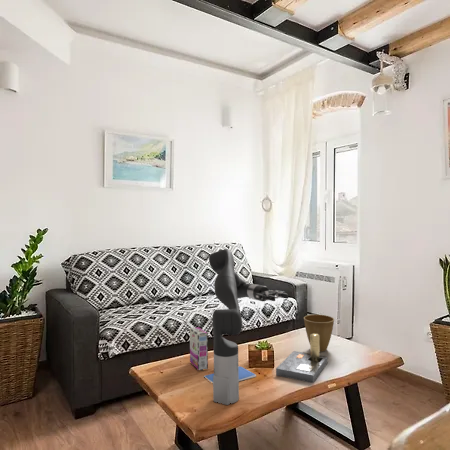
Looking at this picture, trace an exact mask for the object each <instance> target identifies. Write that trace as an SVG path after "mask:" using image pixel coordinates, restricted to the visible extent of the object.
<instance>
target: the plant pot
mask: <svg viewBox="0 0 450 450" xmlns="http://www.w3.org/2000/svg"><path fill="white" fill-rule="evenodd" d="M303 321H304V327H305V328H304V329H305V331H306V335H307V340H308V343H309V344H310V334H319V347H320V353H321V352H326V351H327V350H328V346H329V344H330V341H331V338H332V333H333V329H334V324H335V323H334V322H335V319H334V317H332V316H329V315H326V314H315V313H314V314H308V315H305V316H304V317H303Z"/></svg>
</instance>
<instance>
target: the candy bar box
mask: <svg viewBox="0 0 450 450" xmlns="http://www.w3.org/2000/svg"><path fill="white" fill-rule="evenodd" d="M208 335H209V333H208V332H206V331H205V330H204V329H202V328H201V327H200V326H199V327H190V328H189V363H190V362H191V363H192V364H193V365H194V366H195V367H196V368H197V369H198V370H201V371H204V370H203V369H207V370H208V369H209V366H208V365H209V362H208V361H209V358H208V357H209V351H208V347H209V346H208V343H209V342H208V339H209V338H208ZM191 363H190V364H191ZM192 364H191V365H192ZM193 365H192V366H193ZM194 366H193V367H194ZM195 367H194V368H195ZM196 368H195V369H196ZM197 369H196V370H197ZM198 370H197V371H198Z"/></svg>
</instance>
